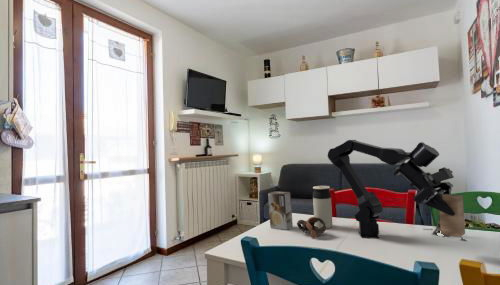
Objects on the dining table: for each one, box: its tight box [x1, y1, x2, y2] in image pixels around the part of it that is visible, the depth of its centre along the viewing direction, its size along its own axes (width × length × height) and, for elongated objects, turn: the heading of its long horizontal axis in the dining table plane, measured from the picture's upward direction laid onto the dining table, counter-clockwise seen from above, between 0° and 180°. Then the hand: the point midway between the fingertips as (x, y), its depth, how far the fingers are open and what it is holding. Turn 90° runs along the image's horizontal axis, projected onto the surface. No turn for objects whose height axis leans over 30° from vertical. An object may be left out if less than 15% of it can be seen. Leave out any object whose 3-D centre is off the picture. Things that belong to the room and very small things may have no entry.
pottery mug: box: [296, 216, 327, 239], centre depth 115 cm, size 12×10×8 cm
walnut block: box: [438, 193, 466, 238], centre depth 88 cm, size 5×5×12 cm
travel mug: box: [312, 185, 334, 229], centre depth 127 cm, size 8×8×18 cm
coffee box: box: [267, 191, 294, 231], centre depth 129 cm, size 9×6×16 cm
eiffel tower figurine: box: [422, 212, 468, 242], centre depth 108 cm, size 15×10×13 cm
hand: (456, 213), depth 87 cm, fingers closed on walnut block, 5 cm apart
